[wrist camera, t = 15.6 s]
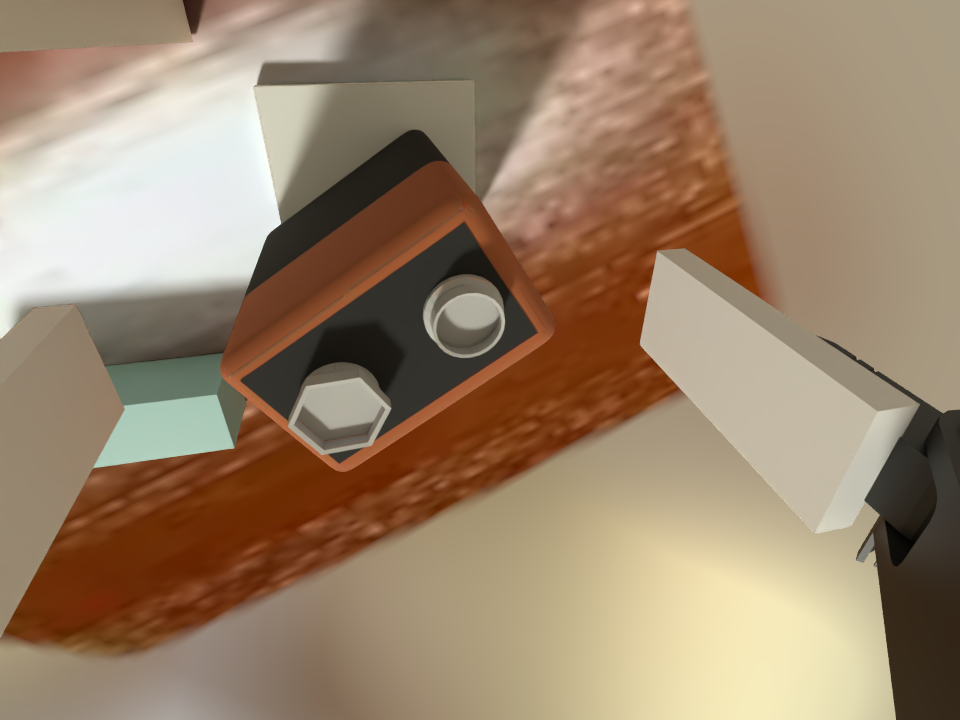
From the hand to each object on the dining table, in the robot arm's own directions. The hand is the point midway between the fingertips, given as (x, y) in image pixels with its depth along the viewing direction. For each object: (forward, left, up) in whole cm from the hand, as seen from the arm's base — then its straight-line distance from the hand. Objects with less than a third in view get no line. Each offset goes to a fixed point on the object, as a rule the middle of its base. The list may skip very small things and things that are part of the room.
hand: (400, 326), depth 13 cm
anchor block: (+6, -10, -9) cm, 15 cm away
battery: (0, 0, -8) cm, 8 cm away
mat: (0, 0, -9) cm, 9 cm away
